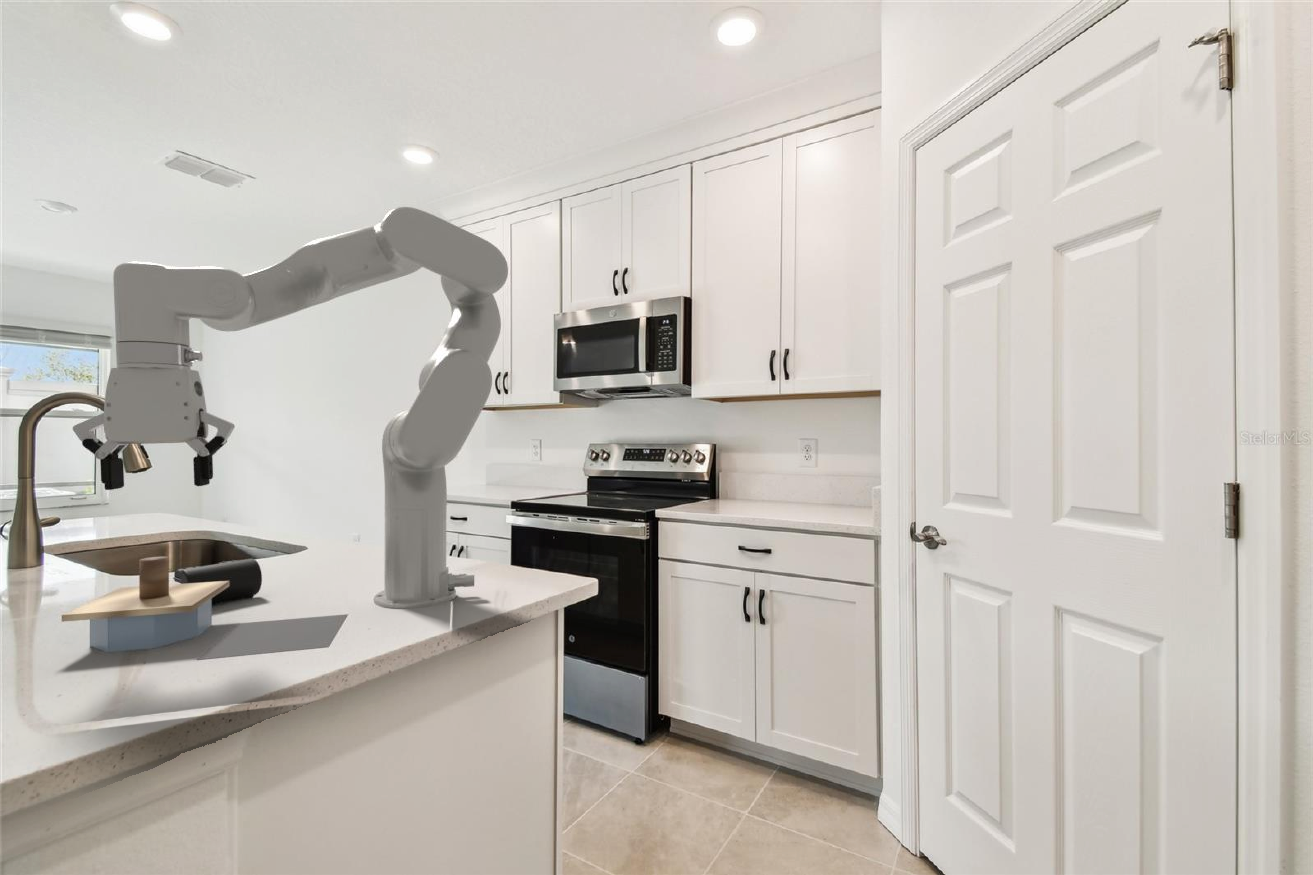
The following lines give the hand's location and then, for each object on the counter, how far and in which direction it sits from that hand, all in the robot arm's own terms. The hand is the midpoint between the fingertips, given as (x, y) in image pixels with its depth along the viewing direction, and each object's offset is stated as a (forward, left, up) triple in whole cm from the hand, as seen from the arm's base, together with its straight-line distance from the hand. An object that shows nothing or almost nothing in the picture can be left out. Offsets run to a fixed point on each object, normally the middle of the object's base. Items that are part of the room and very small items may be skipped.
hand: (159, 487), depth 79 cm
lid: (0, 0, -15) cm, 15 cm away
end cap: (-1, -16, -21) cm, 26 cm away
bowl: (+1, 0, -20) cm, 20 cm away
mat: (-15, +5, -20) cm, 26 cm away
